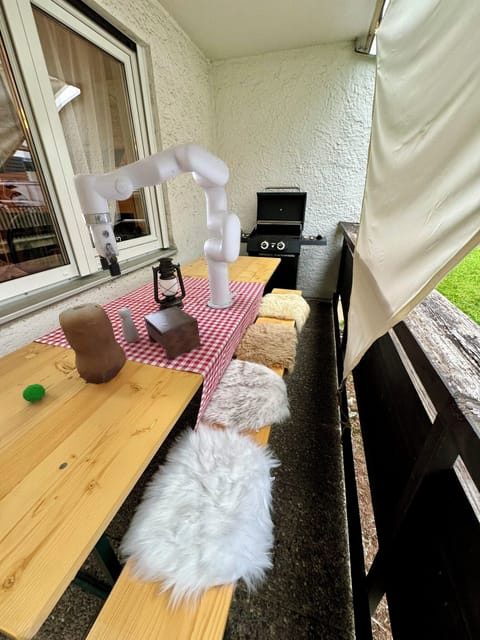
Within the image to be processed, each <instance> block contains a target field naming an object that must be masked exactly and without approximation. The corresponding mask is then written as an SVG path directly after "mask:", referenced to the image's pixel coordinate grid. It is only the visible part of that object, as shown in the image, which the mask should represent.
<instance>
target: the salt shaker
mask: <svg viewBox="0 0 480 640" xmlns="http://www.w3.org/2000/svg"><path fill="white" fill-rule="evenodd" d="M118 316H119V317H120V318H121V325H122V326H121V329H122V332H121V333H122V337H123V339H124V340H125V341H126V342H127V343H135V342H137V340H138V339H139V335H140V332H139V330H138V328H137V325H136V324H135V322H134V320H133V317H132V310H131V309H130V308H128V307H124V308H121V309H120V310H118Z"/></svg>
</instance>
